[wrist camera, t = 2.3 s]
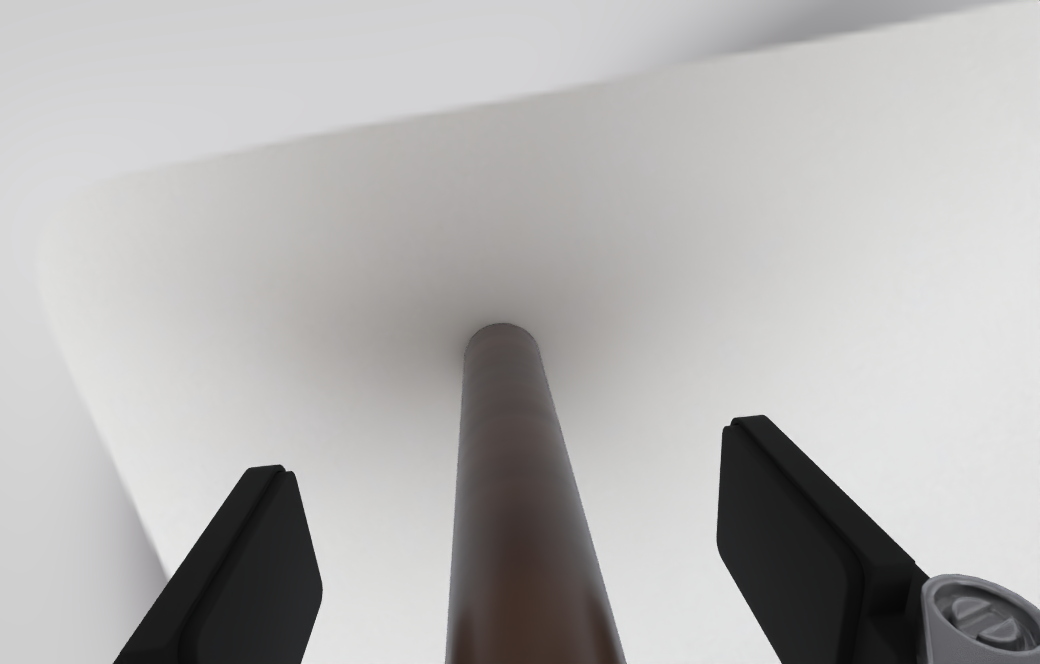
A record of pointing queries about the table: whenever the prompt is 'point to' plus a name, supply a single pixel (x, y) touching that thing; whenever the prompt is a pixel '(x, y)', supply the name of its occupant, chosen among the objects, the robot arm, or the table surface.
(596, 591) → the stick
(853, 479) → the table surface
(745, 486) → the robot arm
